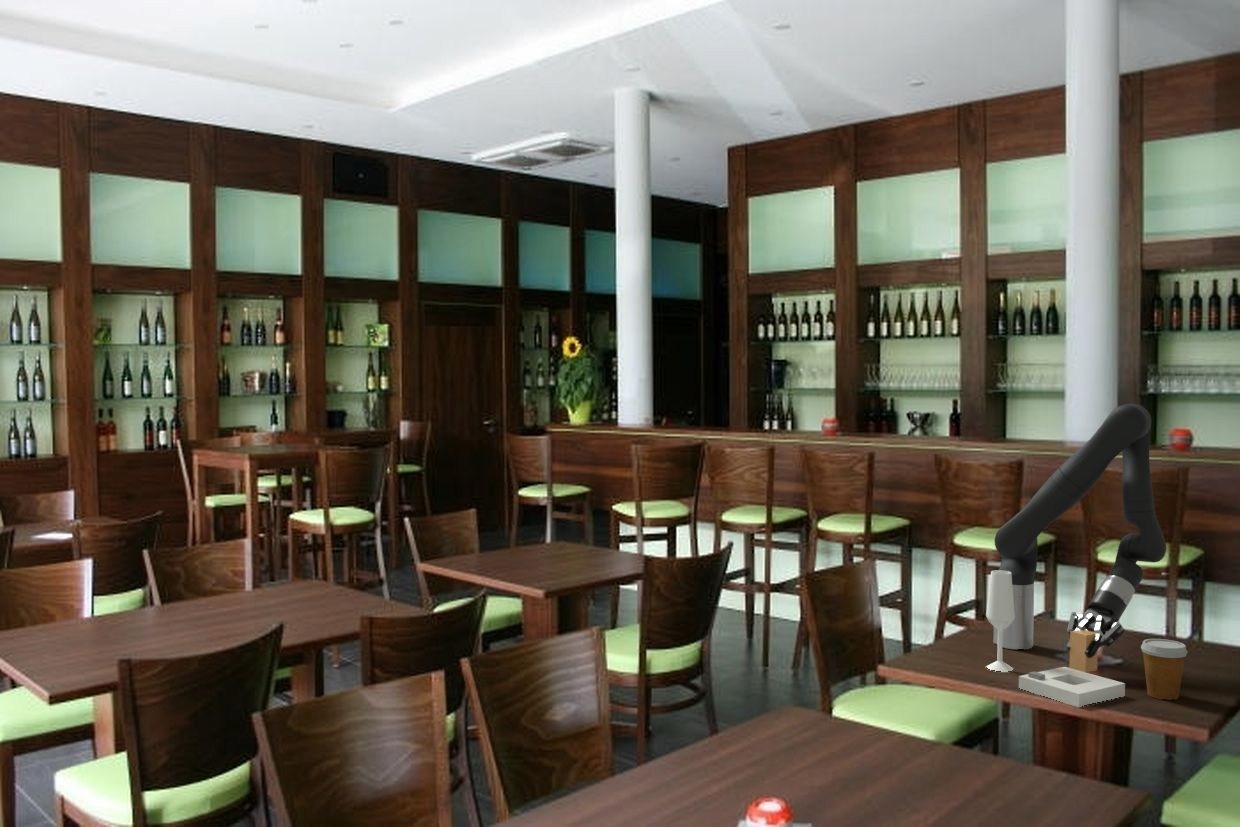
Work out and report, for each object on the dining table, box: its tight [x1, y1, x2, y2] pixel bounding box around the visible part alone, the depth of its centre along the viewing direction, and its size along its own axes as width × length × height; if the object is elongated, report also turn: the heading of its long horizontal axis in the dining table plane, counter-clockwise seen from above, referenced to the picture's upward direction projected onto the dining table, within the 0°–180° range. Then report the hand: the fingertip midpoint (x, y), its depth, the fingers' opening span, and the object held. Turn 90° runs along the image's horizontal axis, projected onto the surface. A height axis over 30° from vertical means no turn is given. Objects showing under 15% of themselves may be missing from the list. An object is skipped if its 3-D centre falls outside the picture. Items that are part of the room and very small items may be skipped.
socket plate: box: [1018, 666, 1126, 708], centre depth 248 cm, size 16×16×4 cm
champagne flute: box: [985, 569, 1015, 673], centre depth 267 cm, size 7×7×24 cm
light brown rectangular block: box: [1068, 629, 1099, 673], centre depth 261 cm, size 4×4×9 cm
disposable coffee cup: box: [1140, 638, 1189, 701], centre depth 245 cm, size 10×10×12 cm
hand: (1078, 653), depth 260 cm, fingers closed on light brown rectangular block, 4 cm apart
